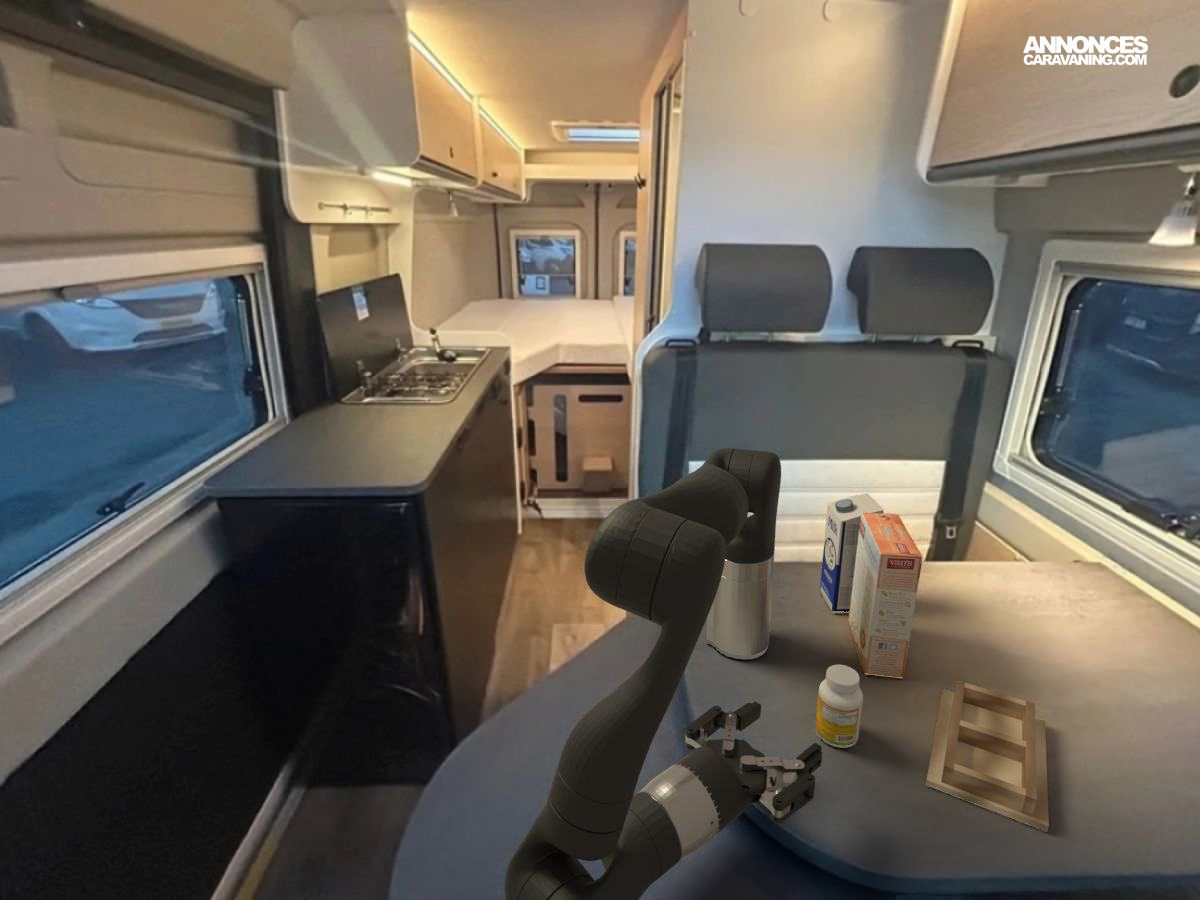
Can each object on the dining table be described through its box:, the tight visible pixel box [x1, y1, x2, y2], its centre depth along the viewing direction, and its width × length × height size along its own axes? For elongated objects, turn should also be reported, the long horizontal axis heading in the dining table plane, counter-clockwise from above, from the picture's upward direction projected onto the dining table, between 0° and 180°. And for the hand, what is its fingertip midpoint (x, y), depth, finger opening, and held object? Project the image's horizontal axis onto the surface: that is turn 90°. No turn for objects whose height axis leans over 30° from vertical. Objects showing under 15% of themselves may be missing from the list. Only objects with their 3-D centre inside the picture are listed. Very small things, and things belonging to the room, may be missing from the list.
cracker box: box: [847, 512, 924, 678], centre depth 95 cm, size 14×6×21 cm, turn 168°
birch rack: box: [925, 680, 1050, 833], centre depth 78 cm, size 12×18×4 cm, turn 147°
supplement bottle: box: [815, 664, 864, 746], centre depth 81 cm, size 5×5×10 cm
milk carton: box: [819, 493, 885, 612], centre depth 107 cm, size 7×7×20 cm
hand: (787, 728), depth 73 cm, fingers open, 8 cm apart
